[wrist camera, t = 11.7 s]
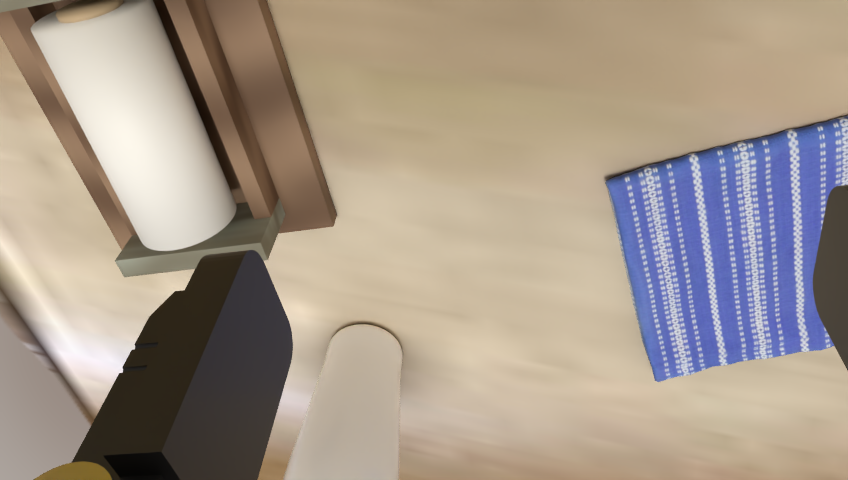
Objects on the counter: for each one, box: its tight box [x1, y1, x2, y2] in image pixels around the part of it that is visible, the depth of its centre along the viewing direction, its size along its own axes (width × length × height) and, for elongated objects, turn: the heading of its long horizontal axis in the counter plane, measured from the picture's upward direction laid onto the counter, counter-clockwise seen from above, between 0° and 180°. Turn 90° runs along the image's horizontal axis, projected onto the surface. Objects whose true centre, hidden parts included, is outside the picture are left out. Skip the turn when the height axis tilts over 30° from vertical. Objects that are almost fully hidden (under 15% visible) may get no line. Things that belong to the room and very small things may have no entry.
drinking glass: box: [283, 324, 403, 480], centre depth 44 cm, size 7×7×15 cm
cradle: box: [0, 0, 337, 277], centre depth 37 cm, size 19×14×6 cm
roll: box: [31, 0, 237, 251], centre depth 36 cm, size 13×6×6 cm, turn 10°
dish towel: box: [605, 116, 848, 382], centre depth 42 cm, size 17×24×3 cm
